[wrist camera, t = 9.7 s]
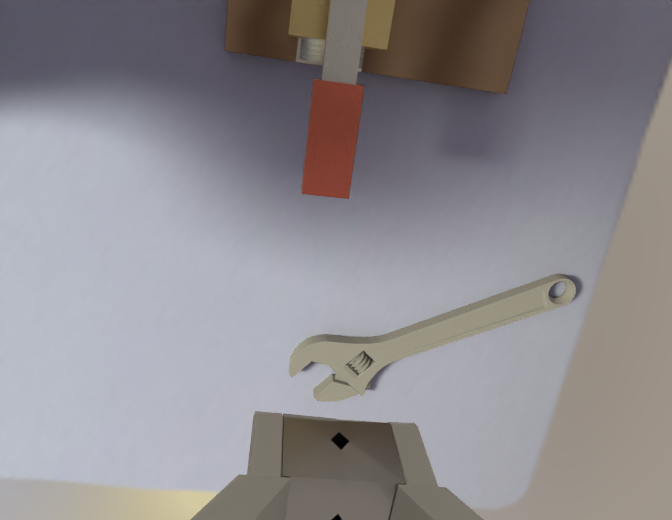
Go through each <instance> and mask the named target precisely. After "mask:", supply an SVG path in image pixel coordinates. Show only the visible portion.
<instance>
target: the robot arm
mask: <svg viewBox="0 0 672 520" xmlns="http://www.w3.org/2000/svg"><path fill="white" fill-rule="evenodd" d="M191 520H483V519H482V518H481V517H480V516H479V515H477V514H476V513H475V512H474V511H473V510H472V509H470V508H469V507H468V506H467V505H466V504H465V503H463V502H462V501H461V500H460V499H459V498H458V497H456V496H455V495H454V494H453V493H452V492H451V491H450V490H448V489H447V488H445V487H438V485H437V482H436V479H435V476H434V473H433V470H432V467H431V464H430V461H429V458H428V455H427V452H426V449H425V446H424V444H423V441H422V438H421V435H420V432H419V429H418V426H417V425H416V424H414V423H398V422H388V423H381V422H367V421H353V420H339V419H333V418H323V417H313V416H303V415H293V414H283V416H282V414H281V413H270V412H258V411H255V413H254V417H253V426H252V435H251V444H250V452H249V461H248V470H247V475H238V476H237V477H236V478H235V479H234V480H232V481H231V482H230V483H229V484H228V485H227V486H226V487H225V488H224V489H223V490H222V491H221V492H220V493H218V494H217V495H216V496H215V497H214V498H213V499H212V500H211V501H210V502H209V503H208V504H207V505H206V506H205V507H203V508H202V509H201V510H200V511H199V512H198V513H197V514H196V515H195V516H194V517H193V518H192V519H191Z"/></svg>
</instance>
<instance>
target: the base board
mask: <svg viewBox="0 0 672 520" xmlns="http://www.w3.org/2000/svg"><path fill="white" fill-rule="evenodd" d="M529 1H530V0H395V6H394V12H393V17H392V23H391V29H390V35H389V41H388V47H387V50H369V49H365V51H364V57H363V64H362V70H361V72H366V73H373V74H379V75H386V76H392V77H399V78H405V79H412V80H418V81H425V82H431V83H438V84H444V85H451V86H457V87H464V88H470V89H477V90H483V91H490V92H496V93H503V94H507V90H508V86H509V82H510V78H511V74H512V70H513V66H514V62H515V58H516V53H517V49H518V45H519V41H520V37H521V33H522V29H523V25H524V21H525V17H526V13H527V9H528V5H529ZM291 5H292V0H228V9H227V24H226V38H225V51H230V52H237V53H243V54H249V55H256V56H262V57H269V58H275V59H282V60H288V61H295V62H296V53H297V45H298V38H294V37H289V34H288V33H289V24H290V14H291Z"/></svg>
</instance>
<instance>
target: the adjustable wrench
mask: <svg viewBox="0 0 672 520" xmlns="http://www.w3.org/2000/svg"><path fill="white" fill-rule="evenodd" d="M559 281H563V282H564V283H565V284H566V290H565V292H564V293H563V294H562V295H561V296H559V297H557V298H552V297H550V296H549V294H548V293H549V290H550V288H551V287H552V286H553V285H554V284H555V283H557V282H559ZM575 293H576V287H575V284H574V283H573V282H572V281H571V280H570V279H569V278H567V277H566V276H564V275H562V274H555V275H551V276H548V277H545V278H543V279H540V280H537V281H534V282H531V283H528V284H526V285H523V286H520V287H517V288H514V289H512V290H509V291H506V292H503V293H500V294H497V295H495V296H492V297H489V298H486V299H483V300H481V301H478V302H475V303H472V304H469V305H467V306H464V307H461V308H458V309H455V310H452V311H450V312H447V313H444V314H441V315H438V316H436V317H433V318H430V319H427V320H424V321H421V322H419V323H416V324H413V325H410V326H407V327H405V328H402V329H399V330H396V331H393V332H390V333H388V334H384V335H380V336H373V337H346V336H337V335H327V334H323V335H316V336H312V337H310V338H307V339H306V340H304V341H303V342H301V343H300V344H299V345H298V346H297V347H296V348H295V350H294V351H293V353H292V355H291V357H290V363H289V374H290V376H291V377H293V376H295V375H296V374H297V373H298V372H299V371H301V370H302V369H303V368H304V367H305V366H307V365H308V364H309V363H310V362H311V361H313V362H317V363H321V364H326V365H329V366H330V367H331V368H332V369H333V370H334V371H335V375H334V374H331V375H330V376H329V377H328V378H326V379H325V380H324V381H323V382H321V383H320V384H319V385H318V386H316V387H315V388H314V389H313V394H314V398H315V399H316V400H317V401H338V400H343V399H346V398H349V397H352V396H354V395H357V394H358V393H359V394H360V395H361V396H363V395H364V394H365V390H366V389H368V388H369V387H370V386H371V382H370V380H371V379H372V378H373V377H374V375H375V374H376V373H377V372H378V371H379V370H380V369H381V368H383V367H384V366H386V365H388V364H389V363H392V362H394V361H396V360H399V359H402V358H405V357H408V356H411V355H414V354H417V353H421V352H424V351H427V350H430V349H433V348H436V347H439V346H442V345H445V344H448V343H451V342H454V341H457V340H460V339H463V338H466V337H470V336H473V335H476V334H479V333H482V332H485V331H488V330H491V329H494V328H497V327H500V326H503V325H506V324H509V323H512V322H515V321H519V320H522V319H525V318H528V317H531V316H534V315H537V314H540V313H543V312H546V311H549V310H552V309H555V308H558V307H561V306H564V305H566V304H568V303H569V302H570V301H572V299H573V298H574V296H575ZM364 351H365V352H364ZM366 353H367V354H368V355H367V354H366ZM369 356H370V357H371V358H370V357H369Z"/></svg>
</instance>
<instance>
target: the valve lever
mask: <svg viewBox="0 0 672 520" xmlns="http://www.w3.org/2000/svg"><path fill="white" fill-rule="evenodd" d="M367 2H368V0H330V4H329V13H328V22H327V30H326V39H325V48H324V57H323V66H322V74H321V79H317V78H313V85H312V95H311V104H310V113H309V122H308V131H307V140H306V150H305V159H304V168H303V177H302V186H301V188H302V194H309V195H318V196H327V197H336V198H346V199H349V192H350V185H351V178H352V171H353V164H354V157H355V150H356V143H357V136H358V129H359V121H360V114H361V107H362V100H363V93H364V86H363V85H361V84H356V83H357V75H358V68H359V61H360V53H361V46H362V39H363V31H364V24H365V16H366V9H367Z"/></svg>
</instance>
